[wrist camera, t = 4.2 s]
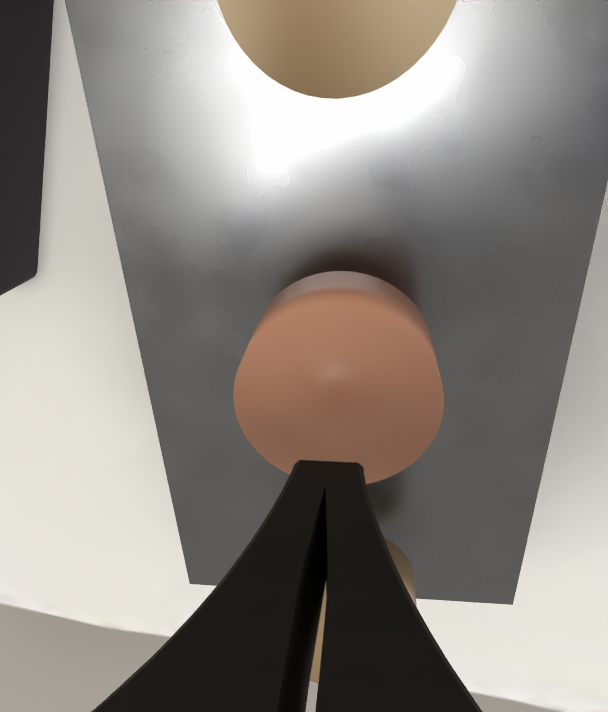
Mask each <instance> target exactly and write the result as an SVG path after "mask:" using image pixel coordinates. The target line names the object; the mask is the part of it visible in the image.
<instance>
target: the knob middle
mask: <svg viewBox="0 0 608 712" xmlns="http://www.w3.org/2000/svg"><path fill="white" fill-rule="evenodd" d="M233 399H234V408H235V413H236V416H237V419H238V422H239V425H240V427H241V429H242V431H243V433H244V435H245V436H246V438H247V439H248V441H249V442H250V443H251V445H252V446H253V447H254V448H255V449H256V451H257V452H258V453H259V454H260V455H261V456H263V457H264V458H265V459H266V460H267V461H268V462H270V463H271V464H273V465H274V466H275V467H277V468H278V469H280V470H282V471H284V472H286V473H287V474H289V475H290V473H291V471H292V469H293V466H294V464H295V463H296V462H298V461H299V460H314V461H336V462H357V463H359V464H360V465H362V466H363V467H364V476H365V482H366V484H369V483H374V482H377V481H380V480H383V479H386V478H388V477H391V476H393V475H395V474H397V473H399V472H400V471H402V470H404V469H405V468H407V467H409V466H410V465H411V464H412V463H414V462H415V461H416V460H417V459H418V458H419V457H420V456H421V455H422V454H423V453H424V452H425V451H426V450H427V448H428V447H429V446H430V444H431V443H432V442H433V440H434V438H435V436H436V434H437V432H438V430H439V427H440V424H441V421H442V416H443V411H444V393H443V386H442V381H441V377H440V373H439V369H438V365H437V360H436V356H435V352H434V348H433V344H432V339H431V336H430V332H429V329H428V326H427V324H426V322H425V319H424V317H423V315H422V314H421V312H420V311H419V309H418V308H417V306H416V305H415V304H414V303H413V302H412V301H411V300H410V299H409V298H408V297H407V296H406V295H405V294H404V293H403V292H401V291H400V290H399V289H397V288H396V287H394V286H393V285H391V284H389V283H388V282H385V281H383V280H381V279H379V278H377V277H373V276H370V275H367V274H363V273H357V272H350V271H332V272H324V273H319V274H314V275H311V276H308V277H305V278H303V279H301V280H299V281H297V282H294V283H292V284H291V285H289V286H288V287H286V288H285V289H283V290H282V291H281V292H280V293H279V294H278V295H276V296H275V297H274V298H273V300H272V301H271V302H270V303H269V304H268V305H267V307H266V308H265V310H264V312H263V313H262V315H261V317H260V319H259V321H258V324H257V326H256V328H255V330H254V333H253V335H252V337H251V340H250V342H249V344H248V347H247V349H246V351H245V353H244V356H243V358H242V360H241V363H240V365H239V367H238V370H237V373H236V377H235V381H234V389H233Z"/></svg>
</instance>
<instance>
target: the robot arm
mask: <svg viewBox="0 0 608 712" xmlns="http://www.w3.org/2000/svg"><path fill="white" fill-rule="evenodd" d="M325 584H326V595H327V599H326V610H325V621H324V632H323V642H322V653H321V663H320V673H319V683H318V693H317V702H316V712H482V711H481V709H480V708H479V706H478V705H477V703H476V702H475V701H474V699H473V697H472V696H471V694H470V693H469V691H468V690H467V688H466V687H465V686H464V684H463V683H462V681H461V680H460V678H459V677H458V675H457V674H456V672H455V671H454V669H453V668H452V666H451V665H450V663H449V662H448V660H447V659H446V657H445V655H444V654H443V652H442V650H441V649H440V647H439V645H438V644H437V642H436V641H435V639H434V637H433V636H432V634H431V632H430V631H429V629H428V627H427V625H426V623H425V622H424V620H423V618H422V616H421V615H420V613H419V611H418V609H417V607H416V606H415V604H414V602H413V600H412V598H411V596H410V594H409V592H408V590H407V588H406V586H405V584H404V582H403V580H402V578H401V576H400V574H399V572H398V570H397V568H396V565H395V563H394V561H393V559H392V557H391V554H390V552H389V550H388V547H387V545H386V542H385V540H384V537H383V535H382V532H381V530H380V527H379V525H378V522H377V519H376V517H375V514H374V511H373V508H372V504H371V501H370V498H369V494H368V491H367V486H366V482H365V476H364V467H363V466H362V465H360V464H359V463H357V462H336V461H314V460H299V461H298V462H296V463H295V464H294V466H293V469H292V471H291V473H290V476H289V478H288V480H287V482H286V484H285V486H284V487H283V489H282V491H281V493H280V495H279V497H278V498H277V500H276V502H275V504H274V505H273V507H272V509H271V510H270V512H269V513H268V515H267V517H266V518H265V520H264V521H263V523H262V524H261V526H260V528H259V529H258V531H257V532H256V534H255V535H254V537H253V538H252V540H251V541H250V543H249V544H248V545H247V547H246V548H245V549H244V551H243V552H242V554H241V555H240V556H239V558H238V559H237V560H236V562H235V563H234V565H233V566H232V567H231V569H230V570H229V571H228V573H227V574H226V575H225V576H224V578H223V579H222V580H221V581H220V583H219V584H218V585H217V586H216V588H215V589H214V590H213V591H212V593H211V594H210V595H209V596H208V597H207V598H206V600H205V601H204V602H203V603H202V604H201V605H200V607H199V608H198V609H197V610H196V611H195V612H194V613H193V614H192V615H191V617H190V618H189V619H188V620H187V621H186V622H185V623H184V624H183V625H182V626H181V627H180V628H179V629H178V630H177V632H176V633H175V634H174V635H173V636H172V637H171V638H170V639H169V640H168V641H167V642H166V643H165V644H164V645H163V646H162V647H161V648H160V649H159V650H158V651H157V652H156V653H155V654H154V655H153V656H152V657H151V658H150V659H149V660H148V661H147V662H146V663H145V664H144V665H143V666H142V667H140V668H139V669H138V670H137V671H136V672H135V673H134V674H133V675H132V676H131V677H130V678H128V679H127V680H126V681H125V682H124V683H123V684H122V685H121V686H120V687H119V688H118V689H117V690H115V691H114V692H113V693H112V694H111V695H110V696H109V697H108V698H107V699H106V700H104V701H103V702H102V703H101V704H100V705H99V706H97V708H95V709H94V710H93V711H92V712H305V710H306V702H307V695H308V687H309V681H310V675H311V669H312V663H313V657H314V651H315V645H316V639H317V633H318V627H319V621H320V615H321V608H322V602H323V596H324V590H325Z"/></svg>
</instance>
